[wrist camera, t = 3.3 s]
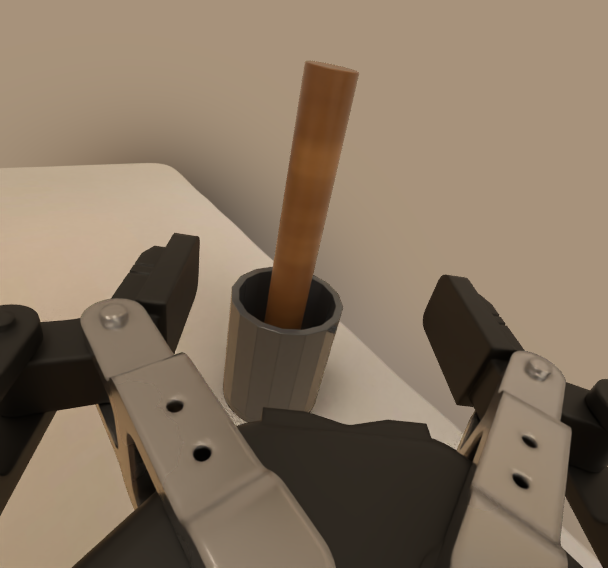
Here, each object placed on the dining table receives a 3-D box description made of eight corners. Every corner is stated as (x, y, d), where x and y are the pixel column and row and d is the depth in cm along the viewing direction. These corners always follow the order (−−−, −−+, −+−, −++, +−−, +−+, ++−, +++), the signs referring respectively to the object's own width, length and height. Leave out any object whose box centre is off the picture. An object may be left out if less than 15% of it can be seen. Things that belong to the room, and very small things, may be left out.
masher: (312, 396, 30) (402, 82, 18) (256, 416, 27) (315, 68, 15) (284, 354, 33) (344, 64, 21) (231, 368, 31) (264, 51, 19)
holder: (333, 408, 30) (364, 320, 25) (245, 442, 26) (260, 346, 21) (289, 345, 35) (307, 261, 30) (209, 366, 31) (215, 274, 26)
